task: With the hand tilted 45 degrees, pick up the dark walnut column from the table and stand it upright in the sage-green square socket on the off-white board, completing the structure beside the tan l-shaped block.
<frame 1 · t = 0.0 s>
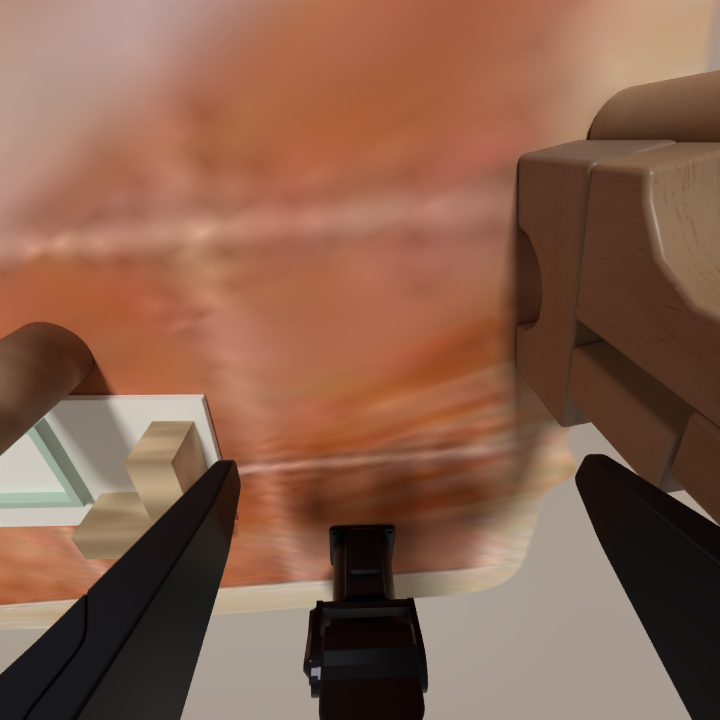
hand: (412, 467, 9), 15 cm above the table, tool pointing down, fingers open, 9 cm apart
walnut column: (55, 353, 23), on the table
tan l-shaped block: (150, 466, 29), resting on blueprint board
wooden toy: (570, 252, 21), on the table
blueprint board: (87, 465, 29), on the table
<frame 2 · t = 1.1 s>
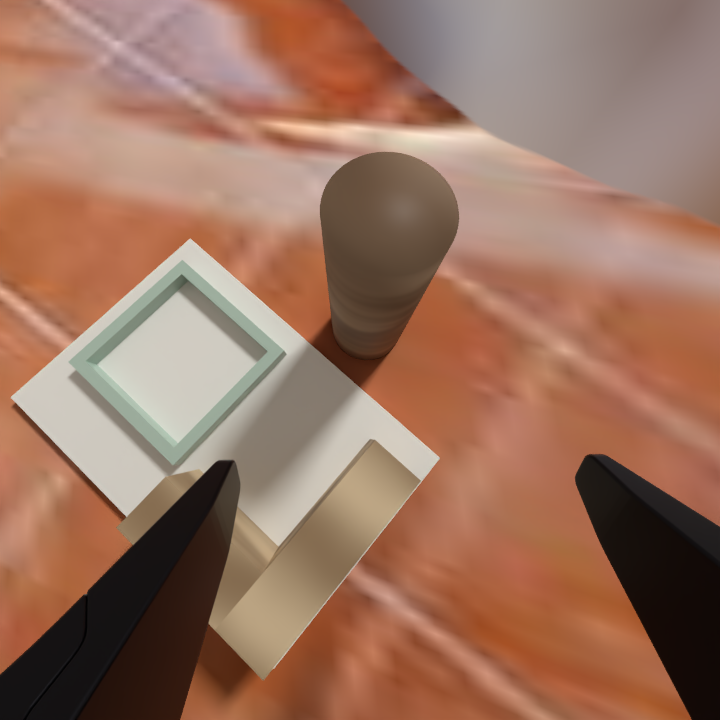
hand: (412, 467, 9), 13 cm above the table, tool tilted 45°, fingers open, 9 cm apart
walnut column: (366, 326, 24), on the table
tan l-shaped block: (285, 486, 21), resting on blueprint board
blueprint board: (230, 428, 22), on the table
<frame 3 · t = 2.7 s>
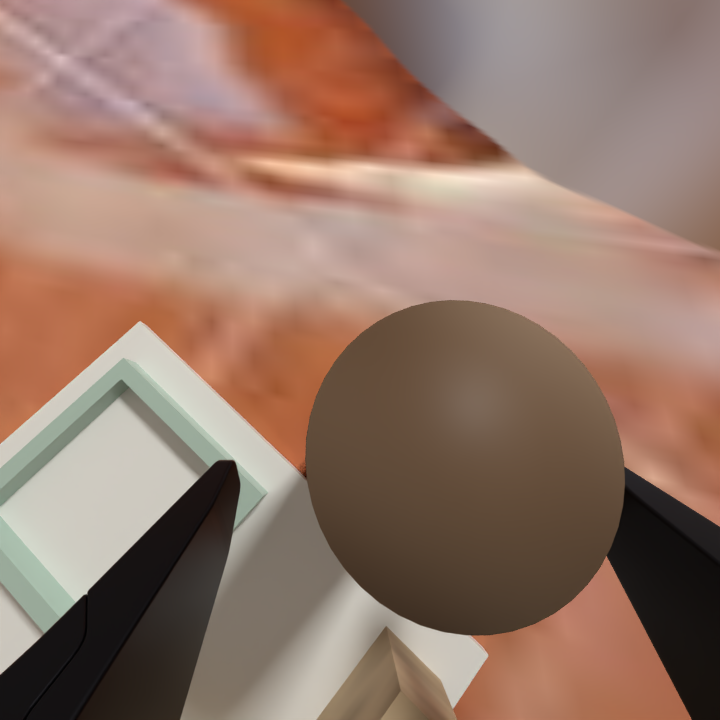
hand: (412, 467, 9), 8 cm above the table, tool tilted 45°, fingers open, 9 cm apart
walnut column: (380, 445, 17), on the table
tan l-shaped block: (262, 697, 15), resting on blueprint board
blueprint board: (184, 603, 15), on the table
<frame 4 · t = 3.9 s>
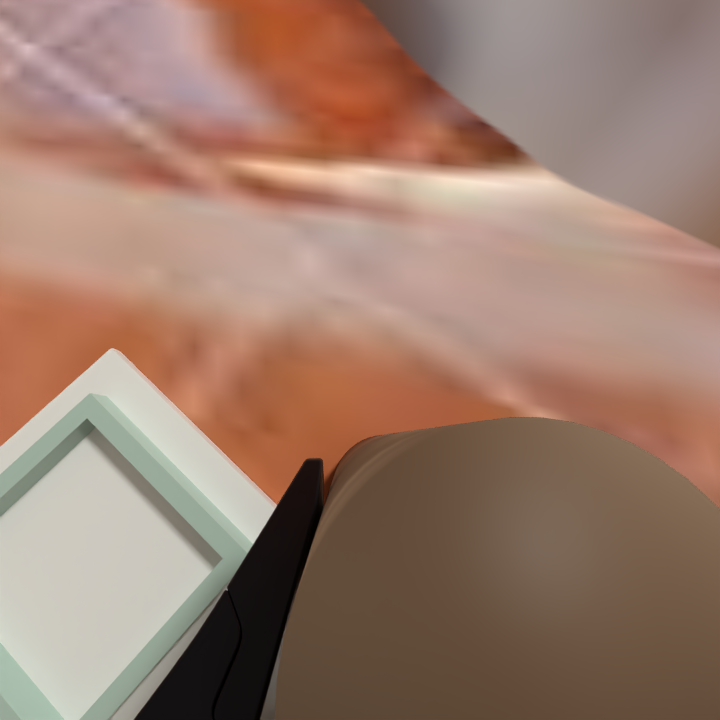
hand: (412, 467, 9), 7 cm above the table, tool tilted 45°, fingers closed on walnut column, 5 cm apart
walnut column: (385, 489, 15), on the table, touching gripper
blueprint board: (160, 678, 13), on the table
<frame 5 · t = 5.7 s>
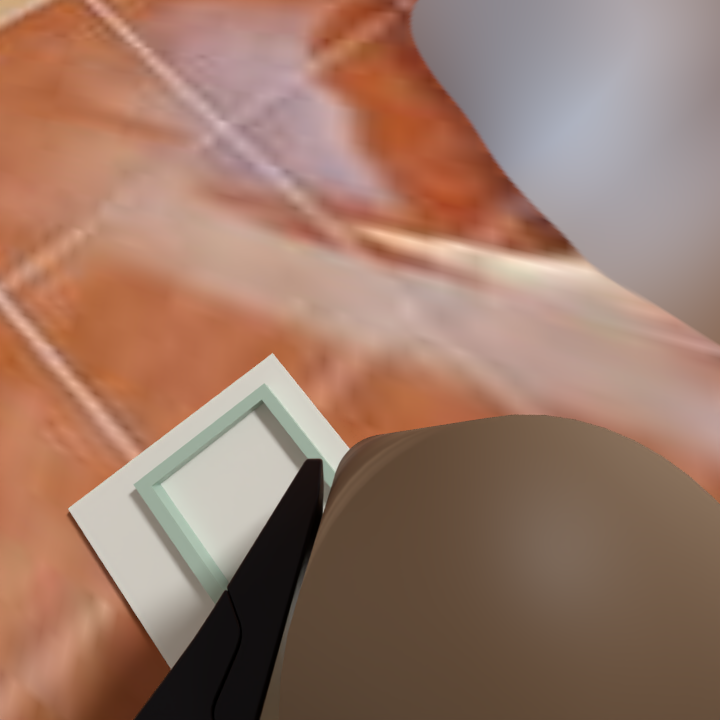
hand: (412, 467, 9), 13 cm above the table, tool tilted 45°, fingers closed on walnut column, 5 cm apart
walnut column: (386, 488, 15), point 7 cm above the table, touching gripper
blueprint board: (288, 574, 20), on the table
when the fingers open (9 cm above the table, at t = 7.7 s): walnut column drops 1 cm, resting on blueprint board.
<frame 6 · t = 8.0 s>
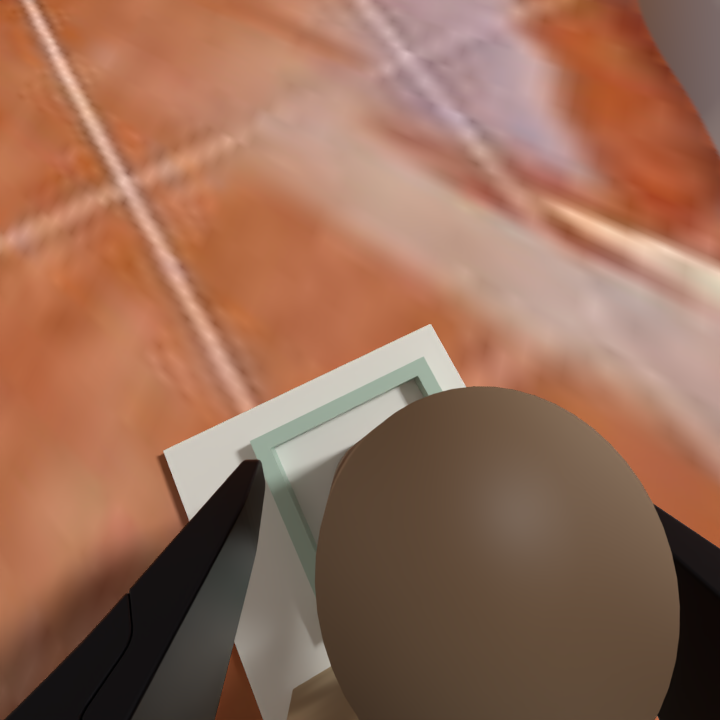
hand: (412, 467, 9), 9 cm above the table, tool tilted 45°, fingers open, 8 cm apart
walnut column: (381, 486, 16), point 1 cm above the table, touching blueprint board
tan l-shaped block: (455, 718, 15), resting on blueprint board
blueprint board: (405, 599, 16), on the table
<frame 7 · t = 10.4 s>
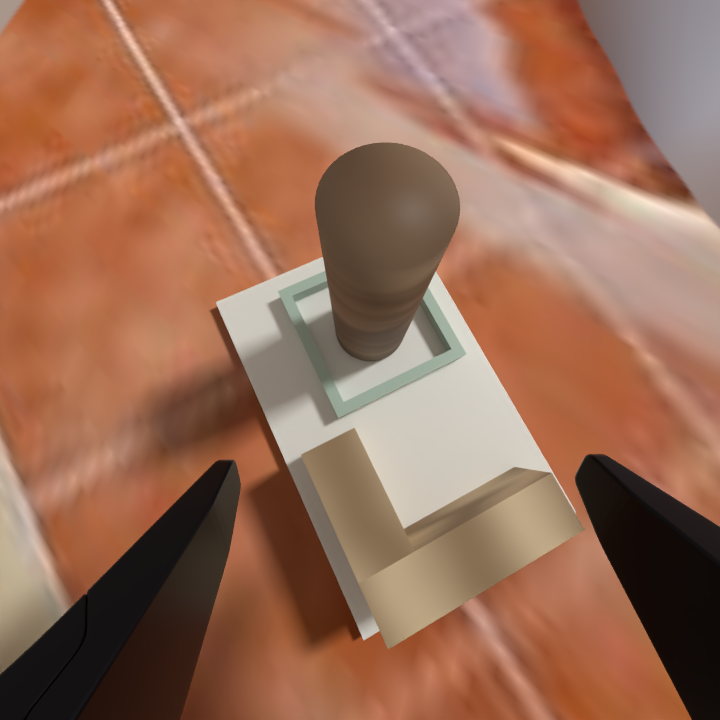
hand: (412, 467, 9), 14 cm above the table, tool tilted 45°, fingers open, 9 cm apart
walnut column: (370, 327, 23), point 1 cm above the table, touching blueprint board
tan l-shaped block: (420, 477, 22), resting on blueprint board
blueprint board: (386, 403, 23), on the table
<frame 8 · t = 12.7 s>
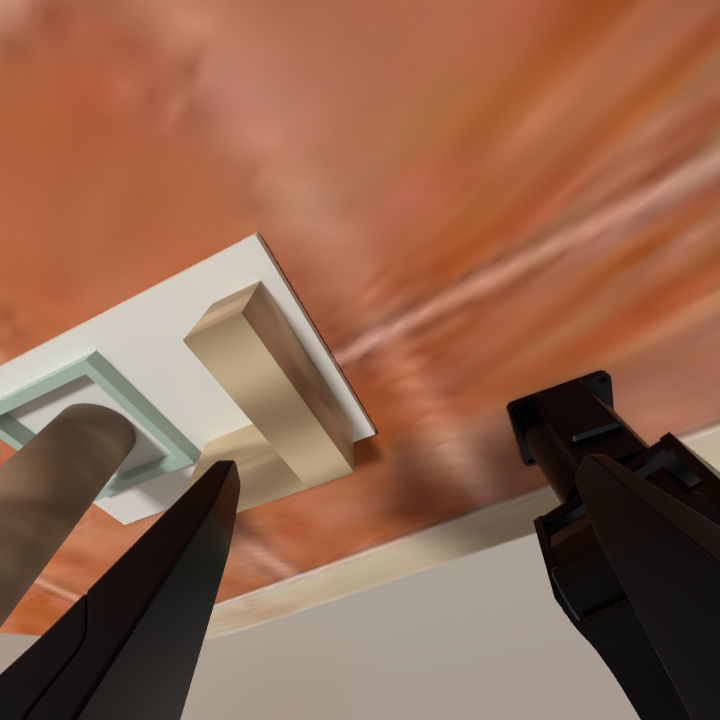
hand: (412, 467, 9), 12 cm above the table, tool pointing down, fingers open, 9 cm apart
walnut column: (98, 430, 23), point 1 cm above the table, touching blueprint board
tan l-shaped block: (243, 386, 22), resting on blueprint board
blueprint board: (177, 410, 23), on the table
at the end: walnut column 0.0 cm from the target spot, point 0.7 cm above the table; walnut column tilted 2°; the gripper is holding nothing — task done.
